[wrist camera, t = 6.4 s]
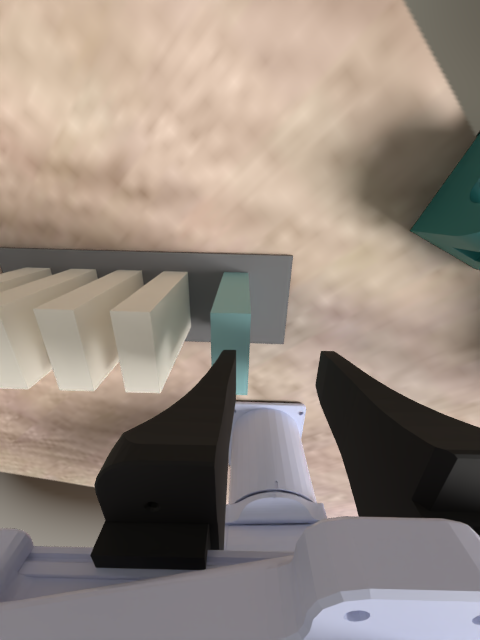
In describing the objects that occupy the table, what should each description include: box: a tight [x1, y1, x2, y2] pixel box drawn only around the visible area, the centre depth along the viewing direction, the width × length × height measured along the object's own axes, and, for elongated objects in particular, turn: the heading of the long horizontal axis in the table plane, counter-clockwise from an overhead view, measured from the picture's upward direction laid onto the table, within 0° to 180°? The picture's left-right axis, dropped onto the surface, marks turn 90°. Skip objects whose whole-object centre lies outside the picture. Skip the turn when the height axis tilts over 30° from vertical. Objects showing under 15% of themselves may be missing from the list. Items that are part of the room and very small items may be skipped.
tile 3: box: [33, 270, 144, 391], centre depth 17 cm, size 5×2×9 cm, turn 179°
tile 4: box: [0, 269, 98, 389], centre depth 17 cm, size 5×2×9 cm, turn 179°
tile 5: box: [0, 267, 52, 292], centre depth 17 cm, size 5×2×9 cm, turn 179°
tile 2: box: [110, 271, 191, 393], centre depth 17 cm, size 5×2×9 cm, turn 179°
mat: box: [0, 248, 293, 344], centre depth 22 cm, size 8×24×1 cm, turn 89°
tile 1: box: [210, 272, 251, 395], centre depth 17 cm, size 5×2×9 cm, turn 179°
